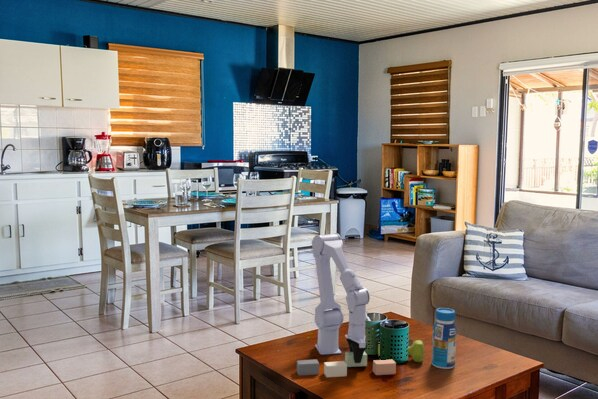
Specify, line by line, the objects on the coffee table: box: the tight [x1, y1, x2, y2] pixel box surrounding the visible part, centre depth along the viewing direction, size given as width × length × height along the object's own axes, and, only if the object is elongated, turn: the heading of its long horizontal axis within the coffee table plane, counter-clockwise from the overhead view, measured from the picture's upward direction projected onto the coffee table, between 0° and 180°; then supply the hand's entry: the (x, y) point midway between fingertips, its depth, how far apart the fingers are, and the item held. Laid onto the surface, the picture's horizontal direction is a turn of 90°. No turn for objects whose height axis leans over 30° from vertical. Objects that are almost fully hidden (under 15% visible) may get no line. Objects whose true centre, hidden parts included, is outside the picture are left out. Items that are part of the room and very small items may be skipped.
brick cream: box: [323, 360, 348, 378], centre depth 200 cm, size 4×7×4 cm, turn 101°
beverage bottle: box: [431, 307, 458, 370], centre depth 209 cm, size 8×8×20 cm
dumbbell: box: [377, 339, 425, 363], centre depth 215 cm, size 16×8×7 cm, turn 81°
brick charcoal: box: [296, 358, 320, 376], centre depth 201 cm, size 4×7×4 cm, turn 101°
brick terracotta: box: [372, 359, 397, 376], centre depth 202 cm, size 4×7×4 cm, turn 101°
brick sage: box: [344, 350, 368, 368], centre depth 208 cm, size 4×7×4 cm, turn 101°
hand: (355, 360), depth 208 cm, fingers closed on brick sage, 3 cm apart
